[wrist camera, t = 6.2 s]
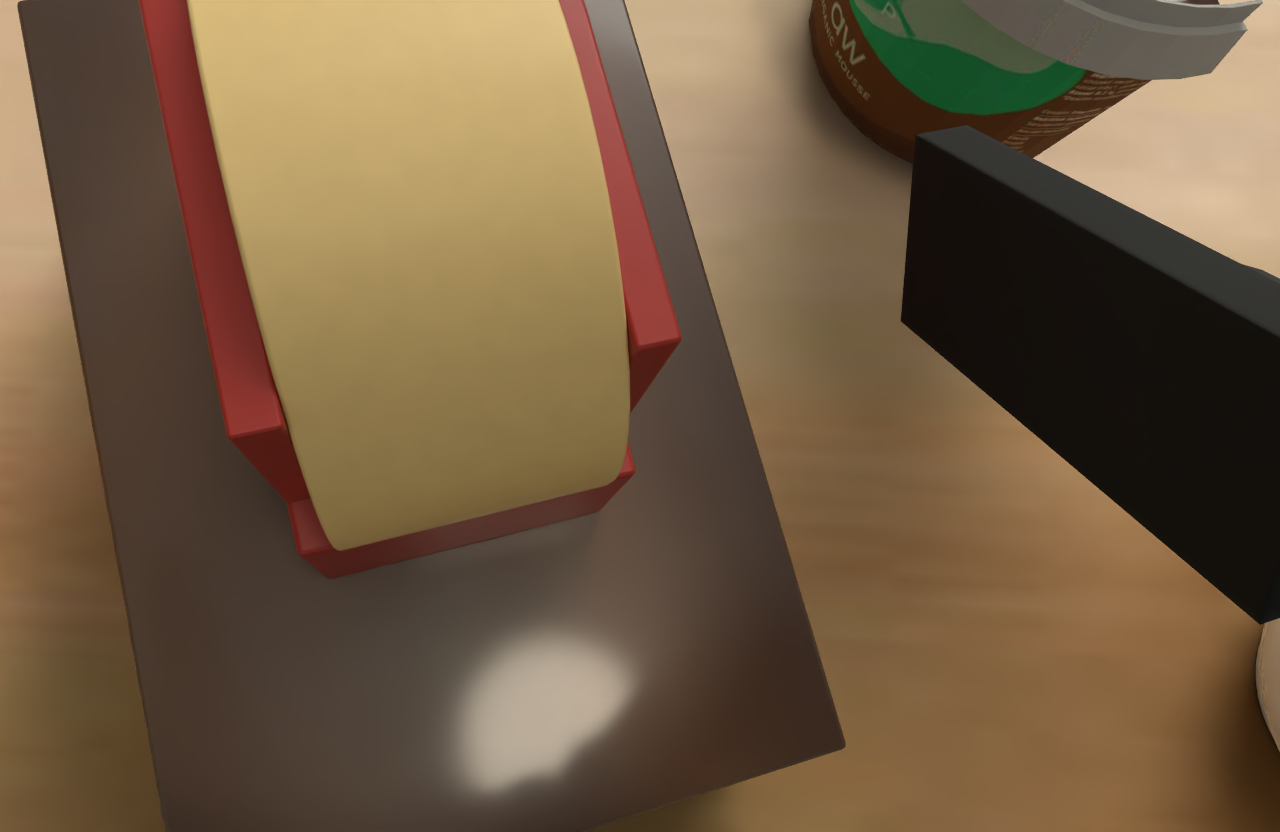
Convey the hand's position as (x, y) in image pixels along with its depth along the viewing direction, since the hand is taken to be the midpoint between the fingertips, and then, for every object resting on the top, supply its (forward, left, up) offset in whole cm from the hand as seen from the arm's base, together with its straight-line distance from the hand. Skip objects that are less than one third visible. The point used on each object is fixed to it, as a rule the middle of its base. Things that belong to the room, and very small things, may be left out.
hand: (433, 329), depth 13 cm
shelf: (0, -2, -16) cm, 16 cm away
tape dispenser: (0, -3, -8) cm, 8 cm away
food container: (-16, -11, -16) cm, 25 cm away
